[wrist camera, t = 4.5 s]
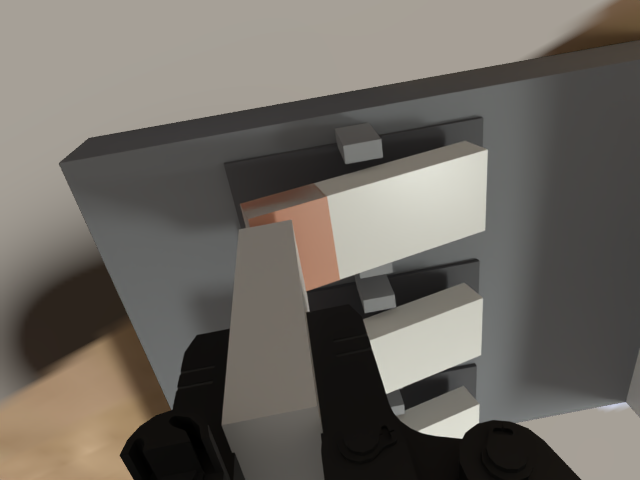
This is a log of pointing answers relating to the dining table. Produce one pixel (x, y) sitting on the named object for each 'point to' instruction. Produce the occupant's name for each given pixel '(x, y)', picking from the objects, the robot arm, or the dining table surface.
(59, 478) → the dining table surface
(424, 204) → the switch
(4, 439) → the dining table surface
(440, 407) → the switch
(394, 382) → the switch
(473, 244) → the switch unit
